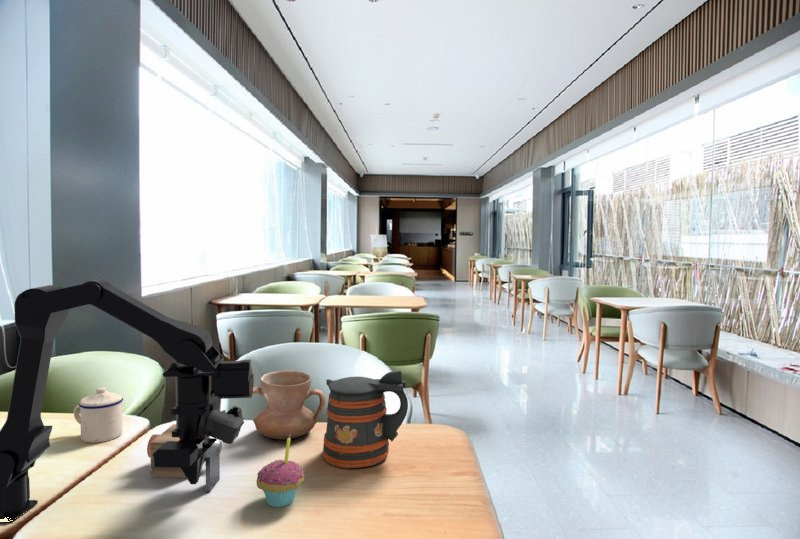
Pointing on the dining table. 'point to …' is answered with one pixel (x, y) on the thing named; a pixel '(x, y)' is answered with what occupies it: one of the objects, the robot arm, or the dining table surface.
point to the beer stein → (362, 420)
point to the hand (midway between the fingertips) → (194, 483)
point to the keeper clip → (212, 467)
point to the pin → (217, 443)
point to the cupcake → (280, 480)
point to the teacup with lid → (100, 416)
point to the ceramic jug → (286, 405)
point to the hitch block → (156, 445)
